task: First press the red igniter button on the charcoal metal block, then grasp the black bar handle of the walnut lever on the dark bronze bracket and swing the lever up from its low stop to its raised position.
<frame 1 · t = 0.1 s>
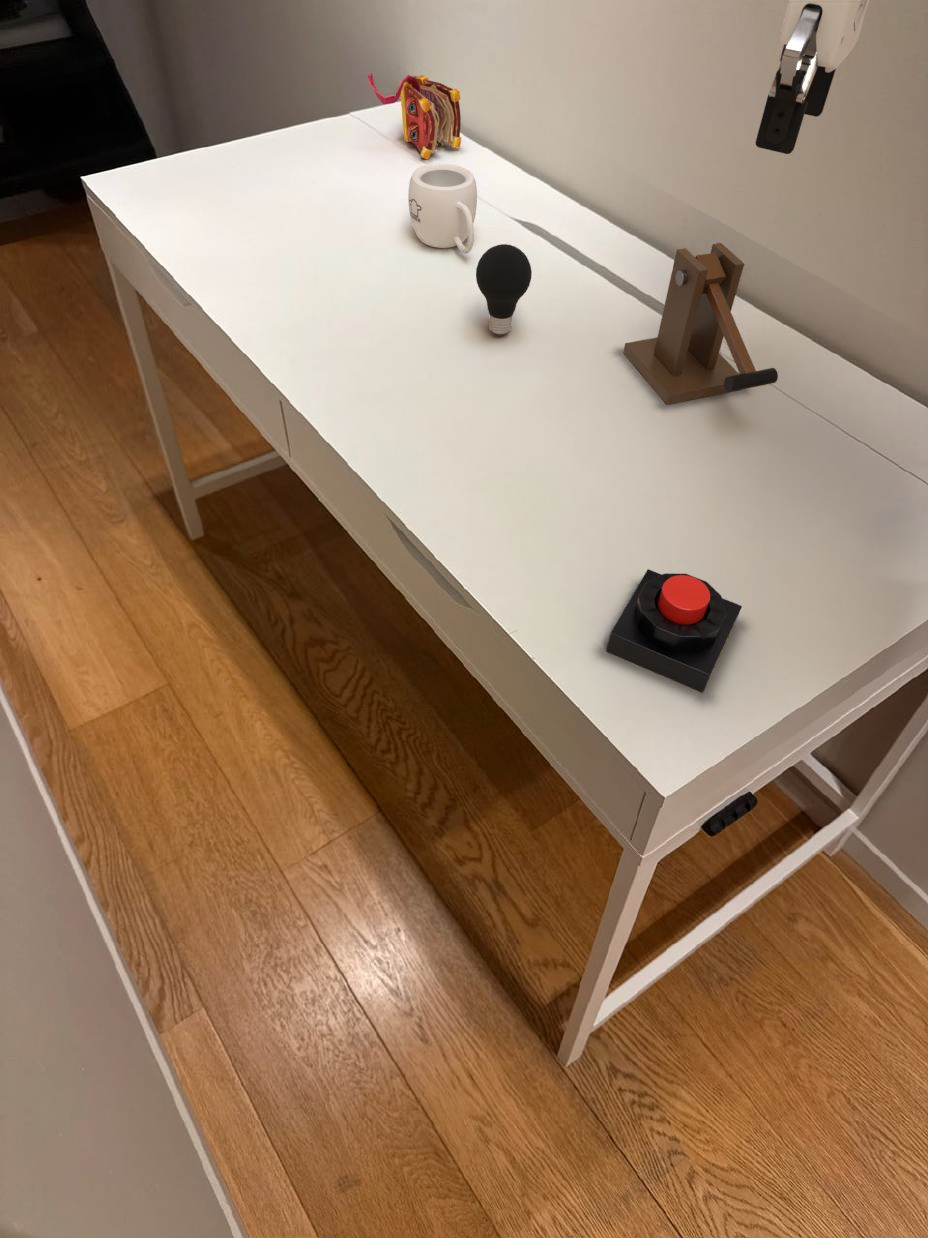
hand: (788, 130, 78), 24 cm above the table, tool pointing down, fingers open, 9 cm apart
bracket: (681, 370, 95), on the table
light bulb: (499, 335, 99), on the table
igniter: (671, 637, 70), on the table
lever: (726, 322, 85), point 9 cm above the table, hinge at -25.0°
igniter button: (683, 599, 67), point 4 cm above the table, slide at 0.1 cm
mug: (448, 245, 112), on the table
book monster: (413, 149, 131), on the table
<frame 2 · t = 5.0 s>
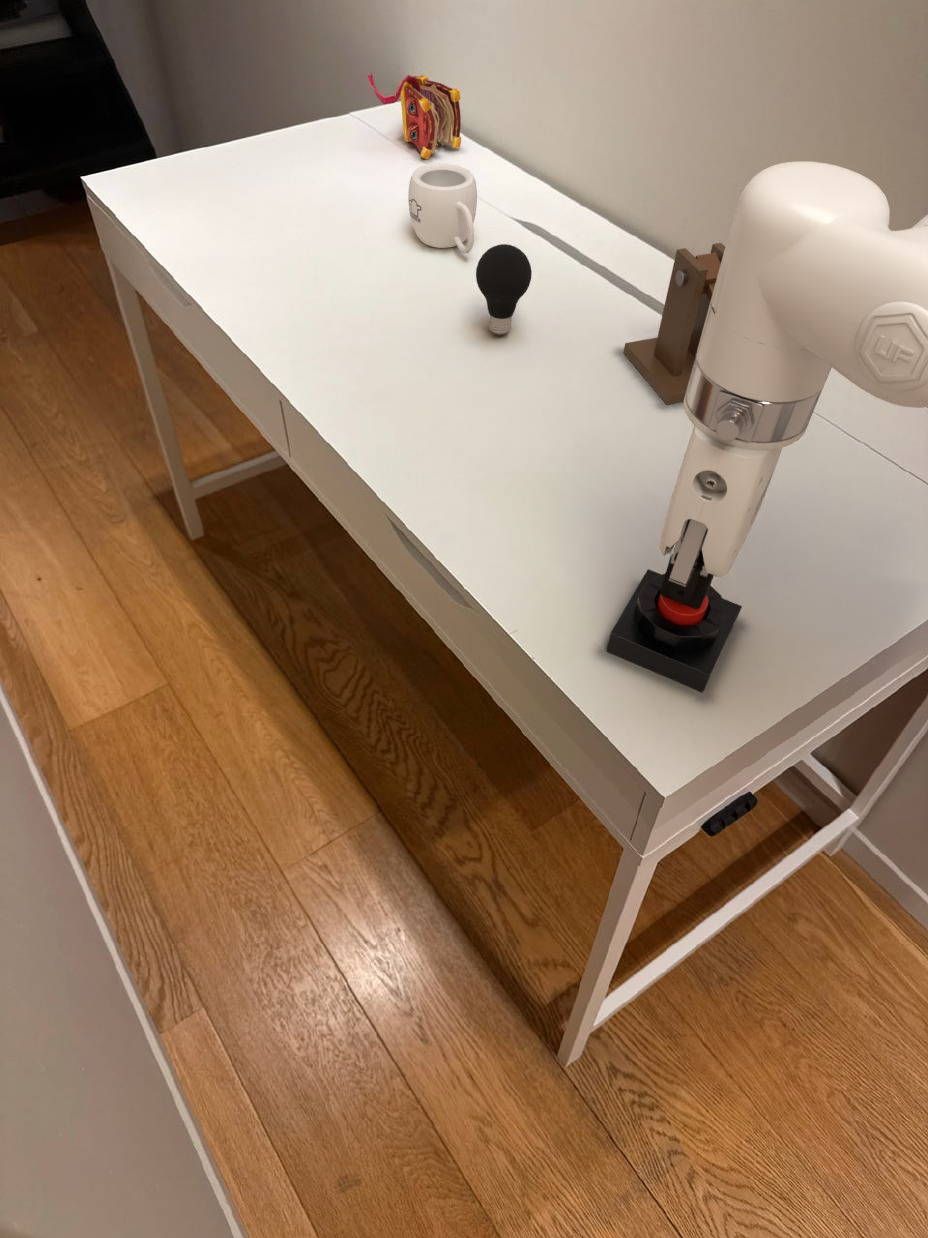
hand: (682, 595, 67), 5 cm above the table, tool pointing down, fingers closed
igniter button: (682, 604, 67), point 4 cm above the table, slide at -0.5 cm, touching gripper
everything else where it was.
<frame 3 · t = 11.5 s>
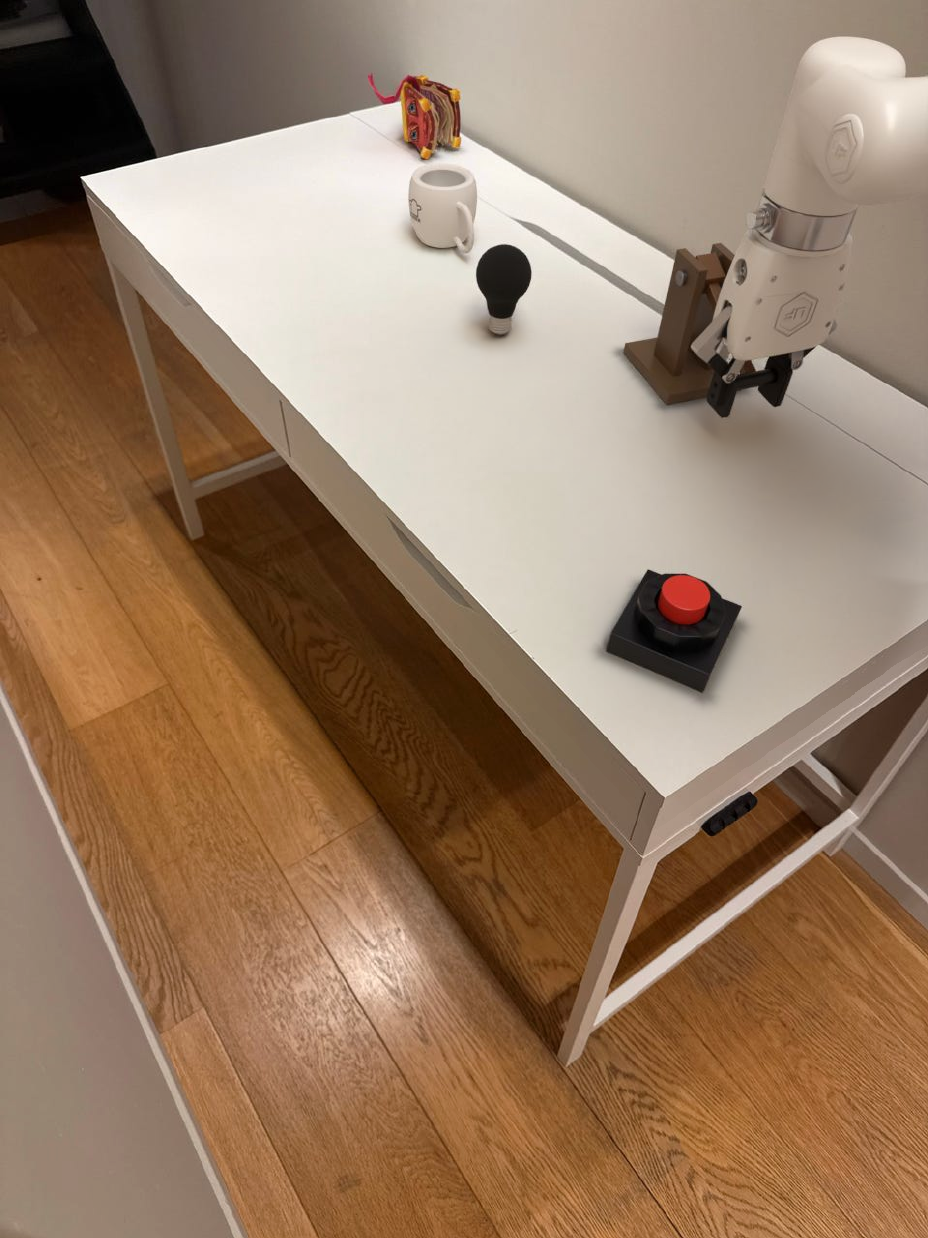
hand: (743, 402, 86), 3 cm above the table, tool pointing down, fingers closed on lever, 5 cm apart
lever: (726, 322, 85), point 9 cm above the table, hinge at -25.0°, touching gripper
igniter button: (683, 599, 67), point 4 cm above the table, slide at 0.1 cm
everything else where it was.
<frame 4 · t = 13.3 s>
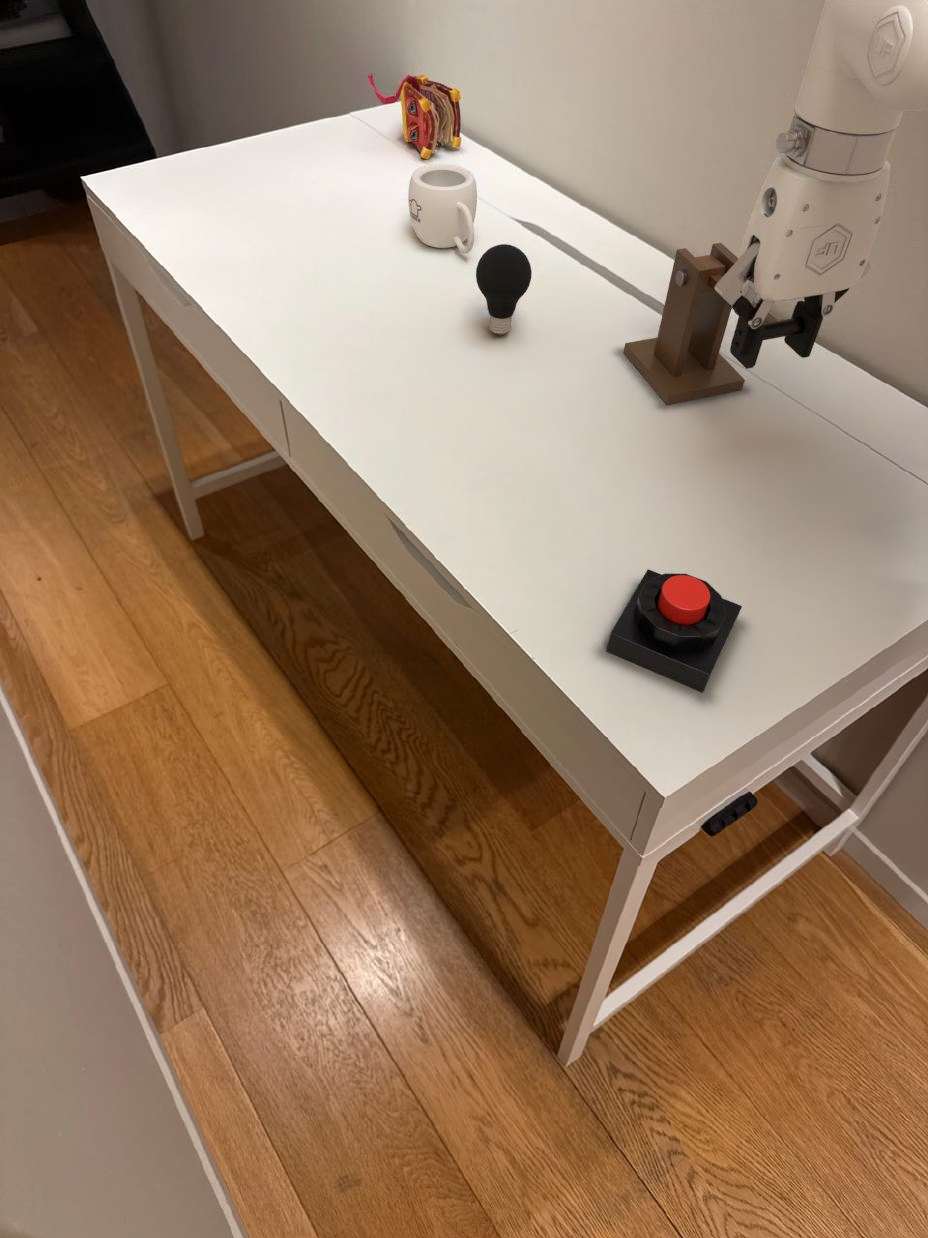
hand: (769, 353, 80), 10 cm above the table, tool pointing down, fingers closed on lever, 5 cm apart
lever: (737, 298, 83), point 11 cm above the table, hinge at 4.2°, touching gripper
everything else where it was.
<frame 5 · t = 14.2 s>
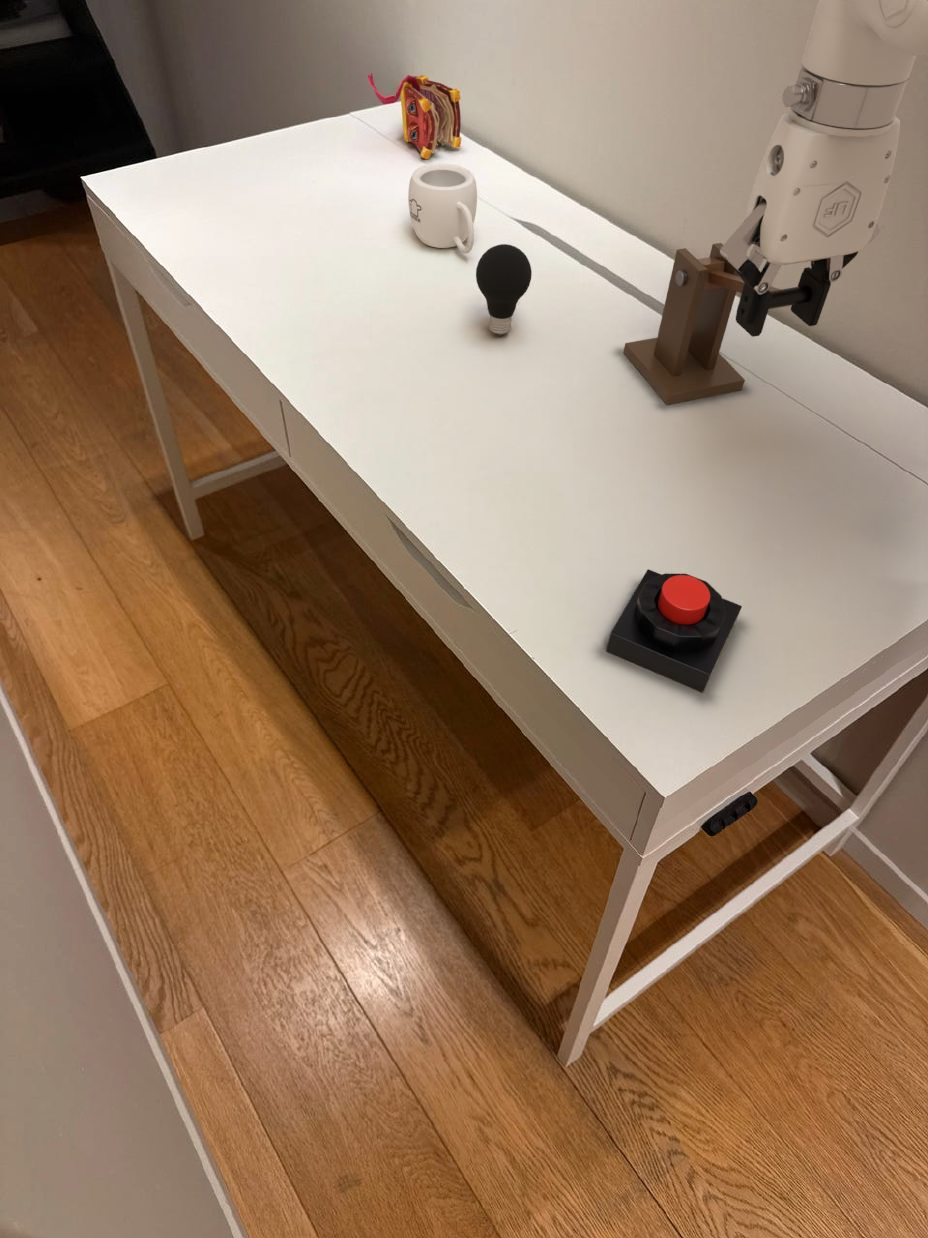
hand: (775, 321, 78), 12 cm above the table, tool pointing down, fingers closed on lever, 5 cm apart
lever: (739, 284, 82), point 13 cm above the table, hinge at 17.5°, touching gripper
everything else where it was.
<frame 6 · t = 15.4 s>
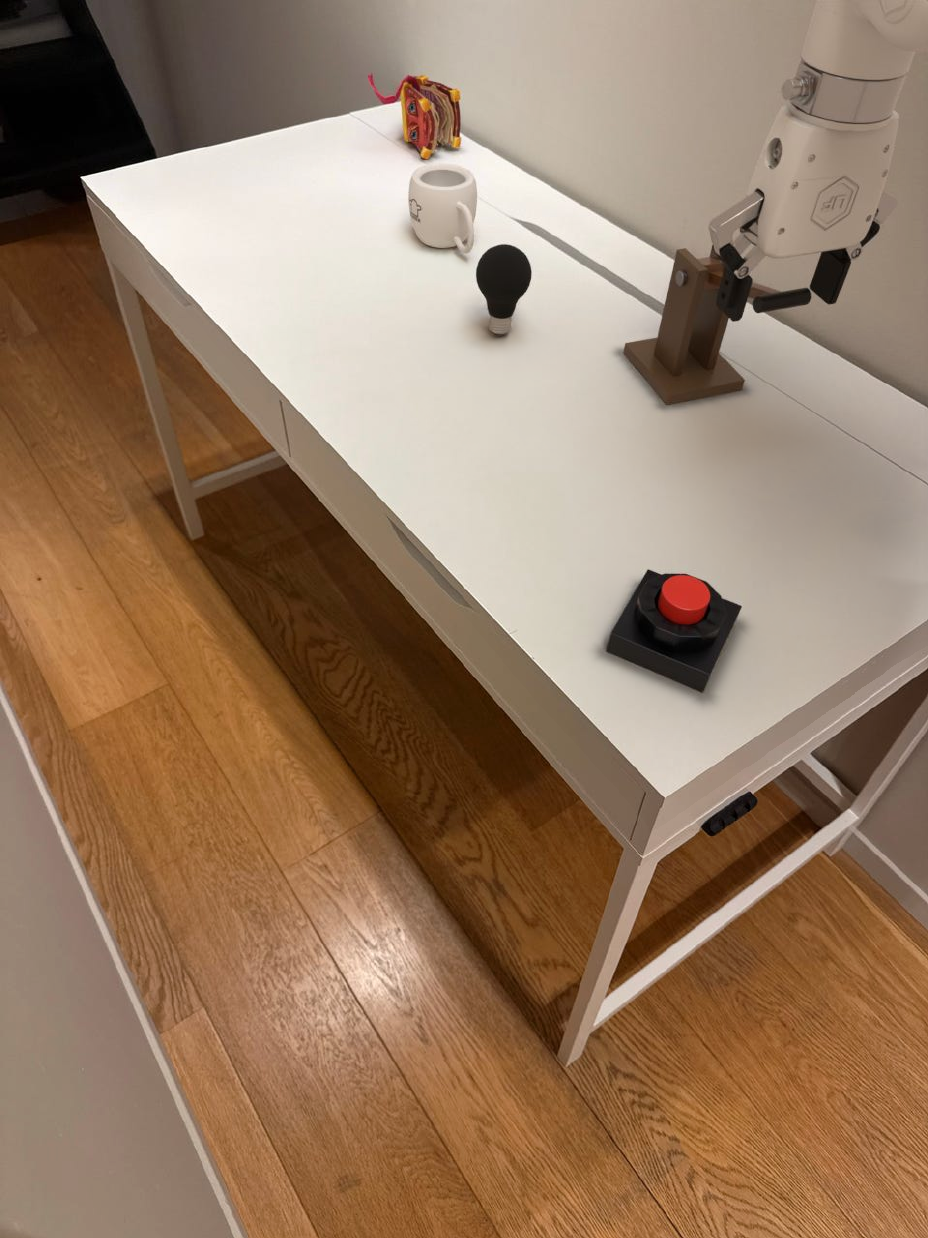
hand: (775, 304, 78), 14 cm above the table, tool pointing down, fingers open, 9 cm apart
lever: (739, 285, 82), point 13 cm above the table, hinge at 16.6°
everything else where it was.
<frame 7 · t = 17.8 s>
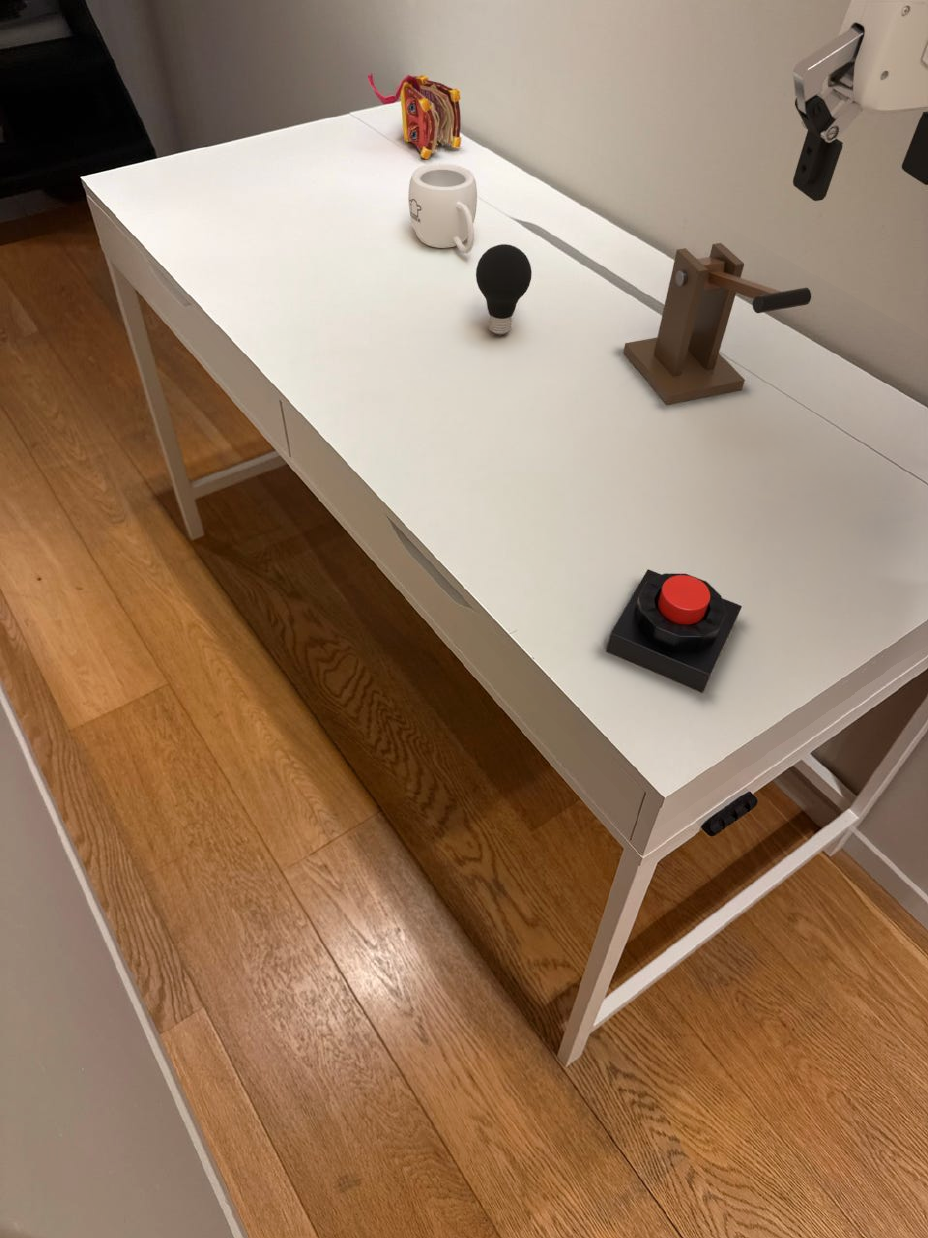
hand: (863, 184, 65), 26 cm above the table, tool pointing down, fingers open, 9 cm apart
nothing on the table moved.
at the end: igniter button pushed in 1.1 cm at the most during the clip, back to where it started at the end; igniter button slide at 0.1 cm; lever at +17° (first picture: -25°) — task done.
